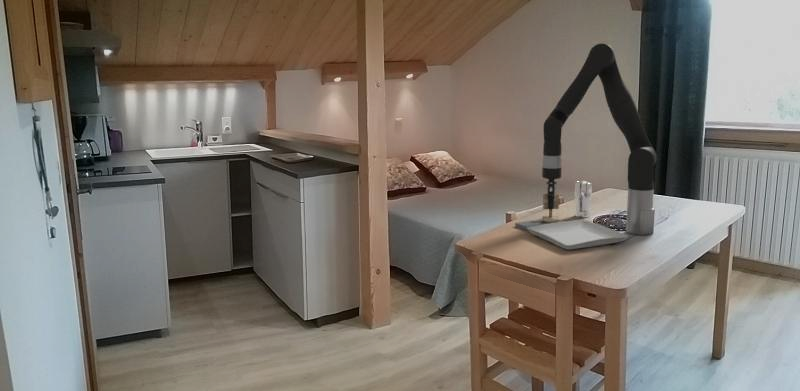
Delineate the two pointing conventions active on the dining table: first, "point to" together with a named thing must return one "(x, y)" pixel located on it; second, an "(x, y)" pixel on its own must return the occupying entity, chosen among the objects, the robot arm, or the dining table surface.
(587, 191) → the beer glass
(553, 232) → the square plate
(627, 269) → the dining table surface
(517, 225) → the tuning board
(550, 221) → the knob
